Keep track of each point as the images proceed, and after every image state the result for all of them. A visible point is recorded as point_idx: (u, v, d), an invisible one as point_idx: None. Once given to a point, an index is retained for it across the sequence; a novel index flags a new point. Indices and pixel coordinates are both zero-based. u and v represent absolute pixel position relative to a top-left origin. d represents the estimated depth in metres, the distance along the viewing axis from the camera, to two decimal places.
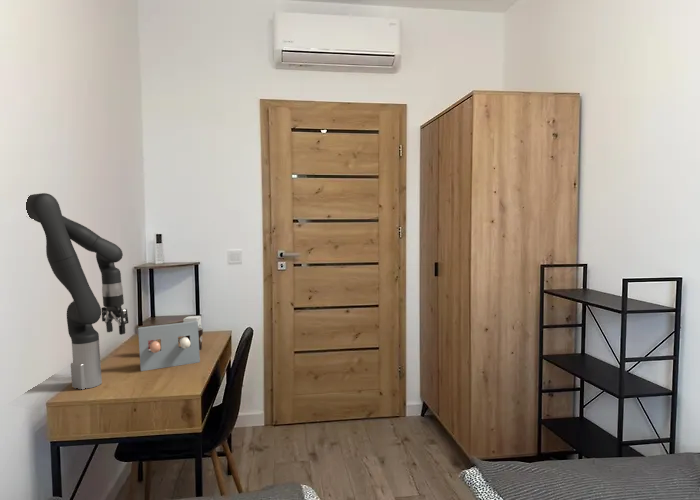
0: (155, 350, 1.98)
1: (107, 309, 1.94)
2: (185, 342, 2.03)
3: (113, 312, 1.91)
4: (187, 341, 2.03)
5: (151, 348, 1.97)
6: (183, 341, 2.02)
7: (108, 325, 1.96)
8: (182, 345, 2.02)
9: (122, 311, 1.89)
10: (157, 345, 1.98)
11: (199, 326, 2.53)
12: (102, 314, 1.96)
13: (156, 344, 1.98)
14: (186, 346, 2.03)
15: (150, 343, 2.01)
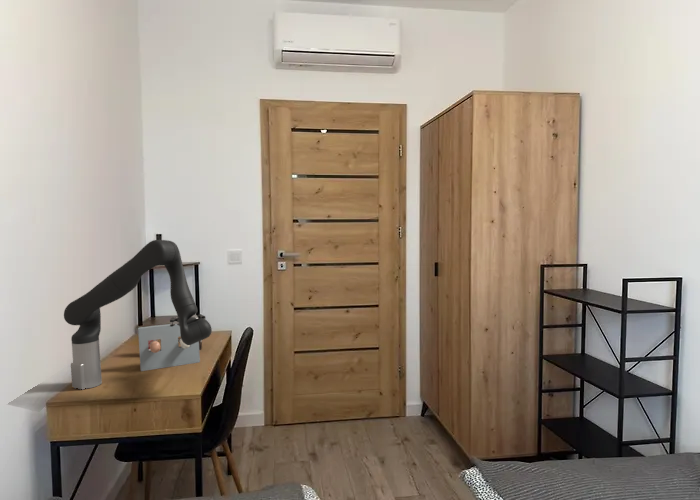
0: (155, 350, 1.98)
1: None
2: None
3: None
4: None
5: (151, 348, 1.97)
6: None
7: None
8: (182, 345, 2.02)
9: (170, 321, 1.87)
10: (157, 345, 1.98)
11: None
12: (201, 315, 1.94)
13: (156, 344, 1.98)
14: (186, 346, 2.03)
15: (150, 343, 2.01)
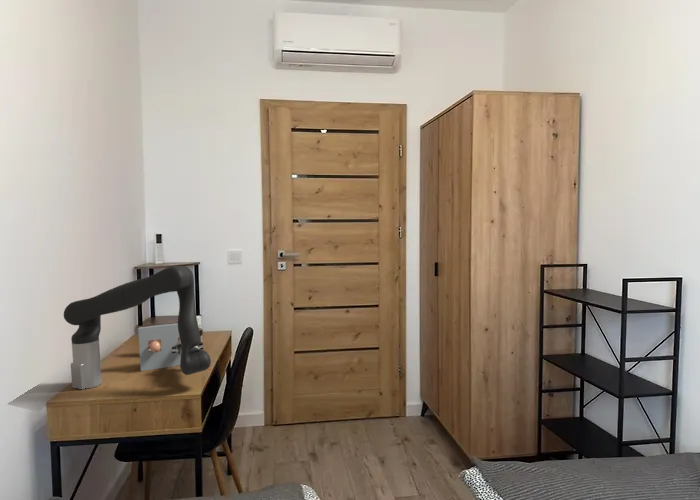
0: (155, 350, 1.98)
1: None
2: None
3: None
4: None
5: (151, 348, 1.97)
6: None
7: None
8: None
9: None
10: (157, 345, 1.98)
11: (199, 326, 2.53)
12: None
13: (156, 344, 1.98)
14: None
15: (150, 343, 2.01)
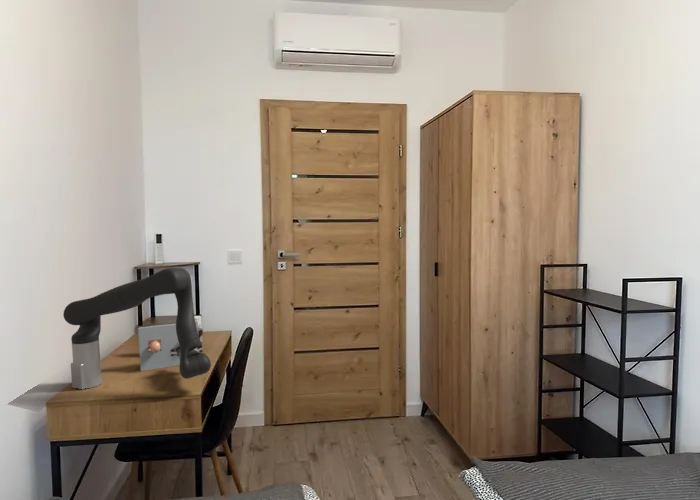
0: (155, 350, 1.98)
1: None
2: None
3: None
4: None
5: (151, 348, 1.97)
6: None
7: None
8: None
9: None
10: (157, 345, 1.98)
11: (199, 326, 2.53)
12: None
13: (156, 344, 1.98)
14: None
15: (150, 343, 2.01)
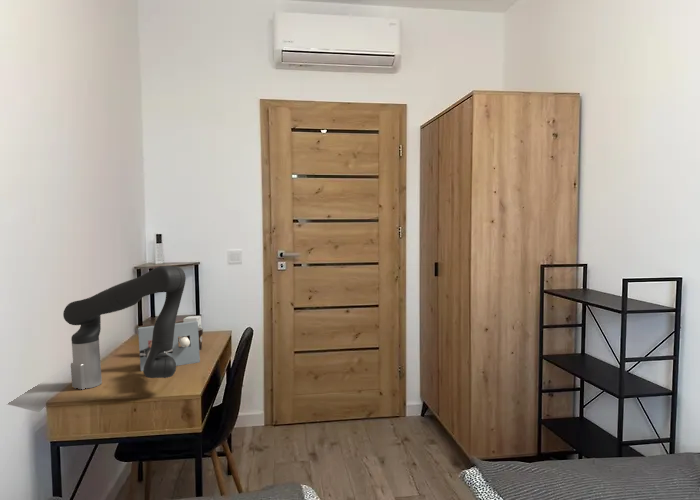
0: None
1: None
2: (184, 341, 2.04)
3: None
4: (186, 340, 2.05)
5: None
6: (182, 340, 2.04)
7: None
8: (181, 344, 2.04)
9: None
10: None
11: (199, 326, 2.53)
12: None
13: None
14: (185, 345, 2.05)
15: (150, 342, 2.02)
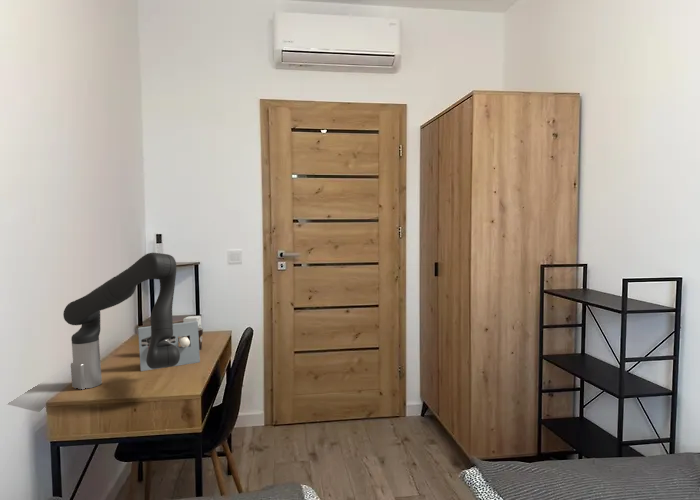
0: None
1: None
2: (184, 341, 2.04)
3: None
4: (186, 340, 2.05)
5: None
6: (182, 340, 2.04)
7: None
8: (181, 344, 2.04)
9: None
10: None
11: (199, 326, 2.53)
12: None
13: None
14: (185, 345, 2.05)
15: None
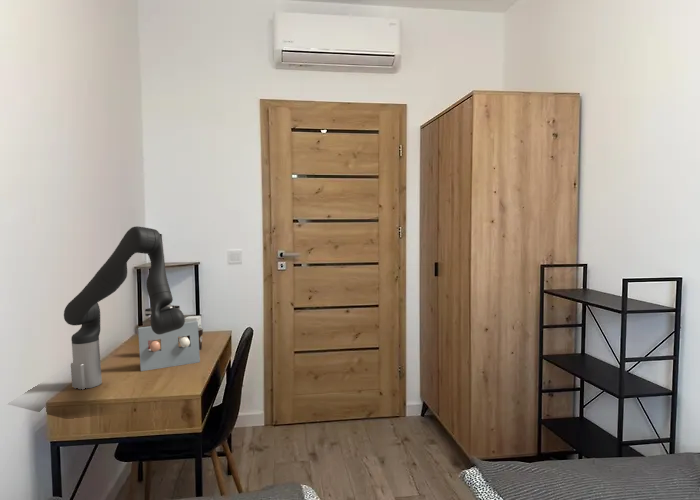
0: (155, 349, 2.00)
1: None
2: (184, 341, 2.04)
3: None
4: (186, 340, 2.05)
5: (151, 347, 1.99)
6: (182, 340, 2.04)
7: None
8: (181, 344, 2.04)
9: None
10: (157, 344, 2.00)
11: (199, 326, 2.53)
12: None
13: (156, 343, 2.00)
14: (185, 345, 2.05)
15: (150, 342, 2.03)
